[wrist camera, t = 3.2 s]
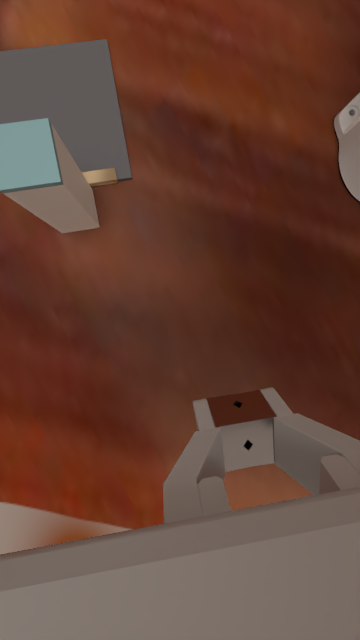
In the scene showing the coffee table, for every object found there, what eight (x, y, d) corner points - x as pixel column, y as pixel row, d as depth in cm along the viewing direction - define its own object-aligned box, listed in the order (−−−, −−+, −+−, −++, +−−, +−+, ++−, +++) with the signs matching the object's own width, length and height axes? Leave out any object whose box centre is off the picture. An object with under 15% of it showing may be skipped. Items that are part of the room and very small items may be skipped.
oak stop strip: (116, 171, 35) (114, 167, 34) (118, 182, 36) (116, 179, 35) (24, 184, 35) (20, 181, 34) (26, 196, 35) (22, 193, 34)
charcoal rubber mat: (107, 43, 34) (106, 39, 34) (132, 178, 36) (131, 177, 35) (-21, 57, 33) (-23, 54, 33) (10, 196, 35) (8, 195, 34)
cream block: (92, 189, 35) (48, 118, 22) (99, 227, 36) (60, 181, 22) (54, 195, 35) (-16, 126, 21) (62, 233, 36) (-2, 190, 22)
